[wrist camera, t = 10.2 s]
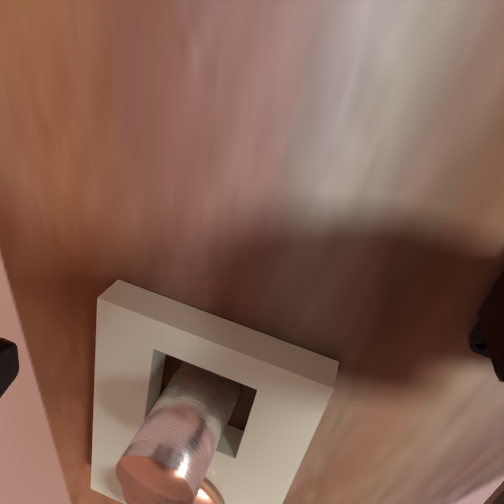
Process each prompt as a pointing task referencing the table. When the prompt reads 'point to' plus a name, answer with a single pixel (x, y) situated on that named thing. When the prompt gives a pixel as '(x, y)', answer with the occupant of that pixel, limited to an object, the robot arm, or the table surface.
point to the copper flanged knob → (206, 500)
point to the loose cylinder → (178, 438)
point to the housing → (217, 361)
